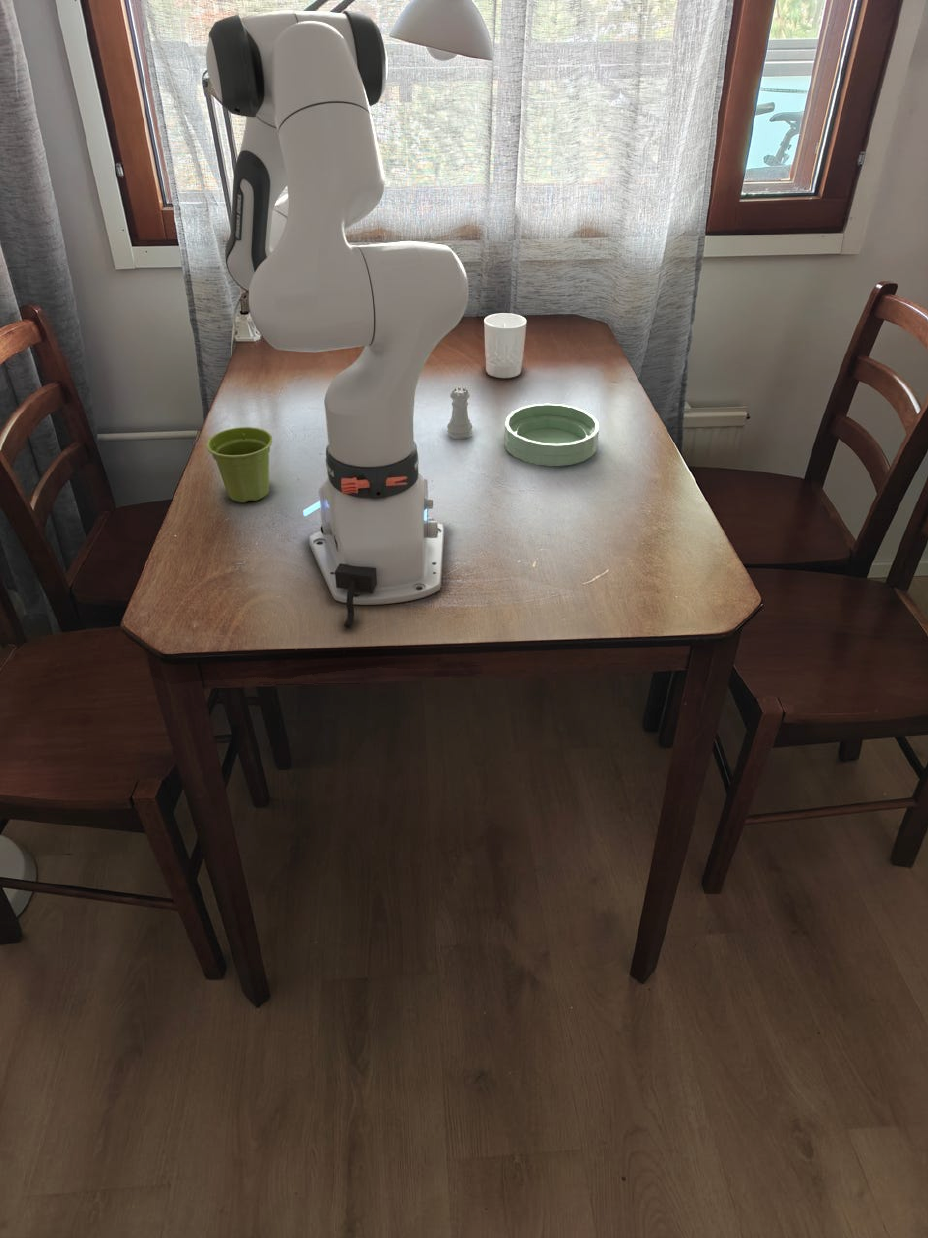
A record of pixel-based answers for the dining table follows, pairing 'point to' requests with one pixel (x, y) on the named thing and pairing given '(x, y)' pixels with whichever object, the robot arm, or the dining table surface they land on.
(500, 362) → the white cup
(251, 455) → the plant pot
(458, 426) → the rook chess piece
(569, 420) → the bowl
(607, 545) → the dining table surface
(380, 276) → the robot arm
